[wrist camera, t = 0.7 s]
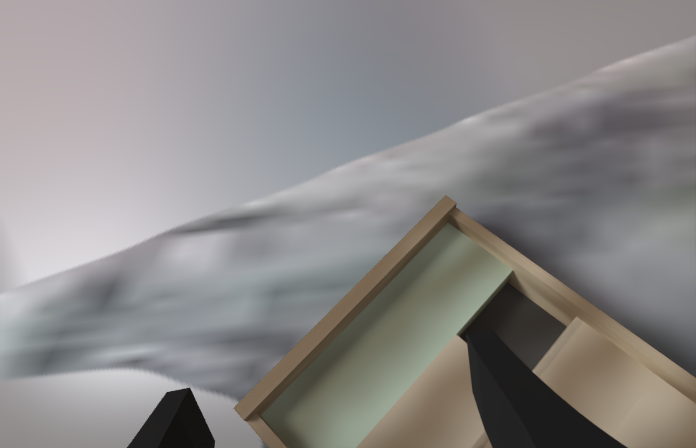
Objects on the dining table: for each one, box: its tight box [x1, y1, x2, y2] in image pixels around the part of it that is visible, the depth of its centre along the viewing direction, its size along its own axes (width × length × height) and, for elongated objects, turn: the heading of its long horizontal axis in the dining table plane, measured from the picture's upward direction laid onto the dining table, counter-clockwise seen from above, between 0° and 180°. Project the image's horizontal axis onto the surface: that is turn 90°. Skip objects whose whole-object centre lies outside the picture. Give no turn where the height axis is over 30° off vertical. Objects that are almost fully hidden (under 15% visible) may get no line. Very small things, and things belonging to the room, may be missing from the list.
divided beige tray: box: [234, 195, 696, 448], centre depth 25 cm, size 20×16×4 cm
